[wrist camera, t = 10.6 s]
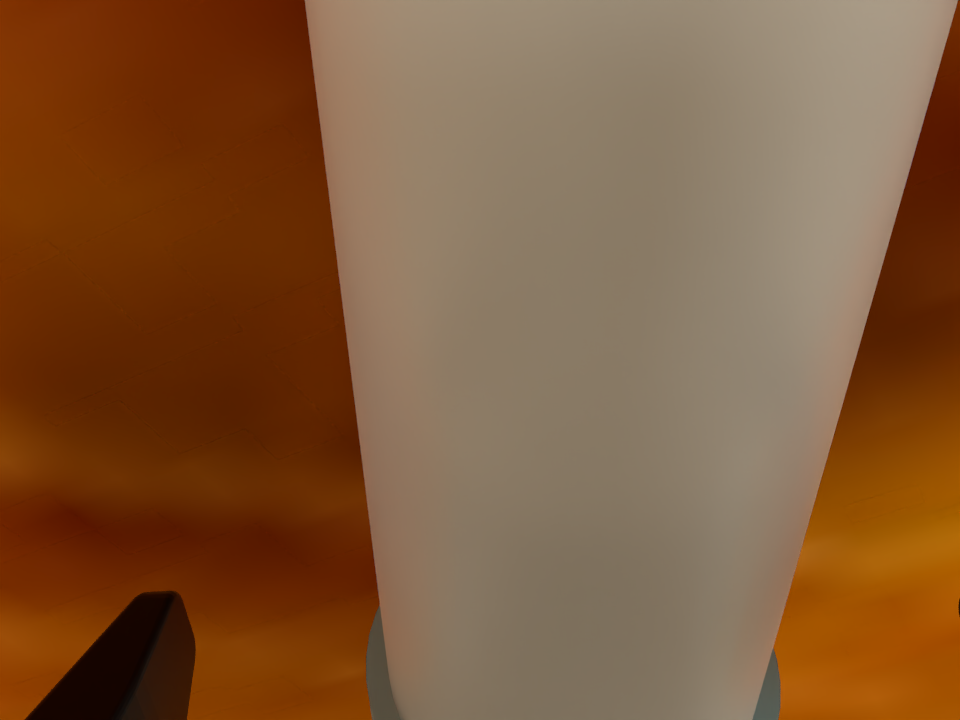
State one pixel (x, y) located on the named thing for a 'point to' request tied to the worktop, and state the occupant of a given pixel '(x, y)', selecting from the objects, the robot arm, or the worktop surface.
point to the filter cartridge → (604, 328)
